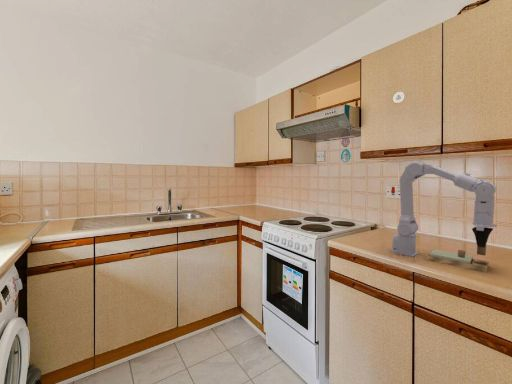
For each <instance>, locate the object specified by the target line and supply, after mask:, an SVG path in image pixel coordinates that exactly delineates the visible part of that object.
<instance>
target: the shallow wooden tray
mask: <svg viewBox="0 0 512 384" xmlns="http://www.w3.org/2000/svg"><path fill="white" fill-rule="evenodd" d="M432 251H433V250H431V251H430V252H429V253H428V254H426V256H425V257H426V260H425V261H428V262H432V263H433V262H434V263H439V264H443V265H448V266H453V267H459V268H463V269H467V270H473V271H478V272H482V273H488V270H489V263H490V261H487V260H484V259H483V260H482V259H479V258H478V259H477V258H473V259H472V261H471V263H470V264H469V263H464V262H459V261H454V260H449V259H443V258H438V257H433V256H430V253H431V252H432Z"/></svg>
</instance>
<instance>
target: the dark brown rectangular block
mask: <svg viewBox="0 0 512 384" xmlns="http://www.w3.org/2000/svg"><path fill="white" fill-rule="evenodd" d="M486 242H487V243H488V240H487V241H486ZM487 243H486V244H485V247H479V246H477V245H476V255H479V256H484V257H485V256H486V254H487Z"/></svg>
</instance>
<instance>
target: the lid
mask: <svg viewBox="0 0 512 384" xmlns="http://www.w3.org/2000/svg"><path fill="white" fill-rule="evenodd" d="M431 251H432V252H431ZM431 251H430V252H431V253H430V252H429V253H430V256H433V257H438V258H443V259H449V260H454V261H459V262H464V263H469V264H470V263H471V261H472V259H474V258H473V255H469V254H467V252H466V250H463V249H458V250H457V252H452V251H447V250H441V249H435V248H434V249H433V250H431Z"/></svg>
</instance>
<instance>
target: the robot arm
mask: <svg viewBox="0 0 512 384" xmlns="http://www.w3.org/2000/svg"><path fill="white" fill-rule="evenodd" d="M425 175H434V176H438V177H440V178H443V179H446V180H448V181H451V182H453V185H454V186H456V187H458V188H460V189H462V190H466V191H467V192H470V193H473V192H474V194H475V200H474V206H473V207H474V208H473V209H474V210H473V221H472V225H473V226H474V227H472V229H471V230H472V232H473V234H474V237H475V243H476V247H477V246H479V247H485V244H486V245H487V243H488V240H489V237H490V235H491V233H492V231H493V230H494V228H496V227H498V224H496V223H494V213H495V195H494V194H495V193H496V191H497V189H496V186H495V184H493V183H492V182H490V181H485V179H483V178H480V179H479V178H478V177H474V176H472V175H471V174H470V173H469V172H466V173H465V172H462V173H459V174H457V173H455V172H452V171H449V170H448V169H445V168H442V167H439V166H438V165H434V164H431V163H425V162H418V161H412V162H410V163H409V164H408V165H406V166H405V169H404V171H403V172H402V174H401V176H400V177H399V195H400V196H399V197H400V217H399V220H398V225H397V227H396V229H397V232H398V233H394V234H393V236H392V248H391V253H393V254H399V255H403V256H408V257H412V258H414V257H415V256H417V255H418V253H419V252H418V251H416V248H417V244H416V243H417V231H418V230H419V225H418V223H417V221H416V217H415V215H414V193H413V191H414V190H413V187H414V186H413V182H415V181H416V180H417V179H419V178H420V177H423V176H425ZM486 241H487V242H486Z"/></svg>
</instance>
